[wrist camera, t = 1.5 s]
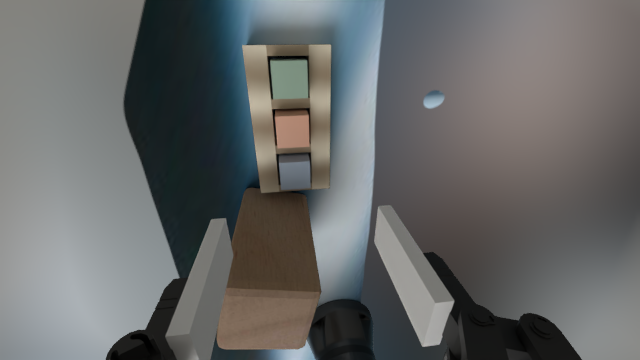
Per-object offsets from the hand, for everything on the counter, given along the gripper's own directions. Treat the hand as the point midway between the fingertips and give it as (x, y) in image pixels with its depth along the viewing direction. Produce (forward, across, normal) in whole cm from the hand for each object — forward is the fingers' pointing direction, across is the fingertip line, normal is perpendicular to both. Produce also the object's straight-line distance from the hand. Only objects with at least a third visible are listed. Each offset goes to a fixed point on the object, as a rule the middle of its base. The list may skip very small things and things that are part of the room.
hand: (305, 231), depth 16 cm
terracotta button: (+23, 0, 0) cm, 23 cm away
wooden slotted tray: (+25, 0, 0) cm, 25 cm away
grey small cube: (+23, 0, +6) cm, 24 cm away
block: (+26, +4, +16) cm, 31 cm away
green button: (+23, 0, -6) cm, 24 cm away
